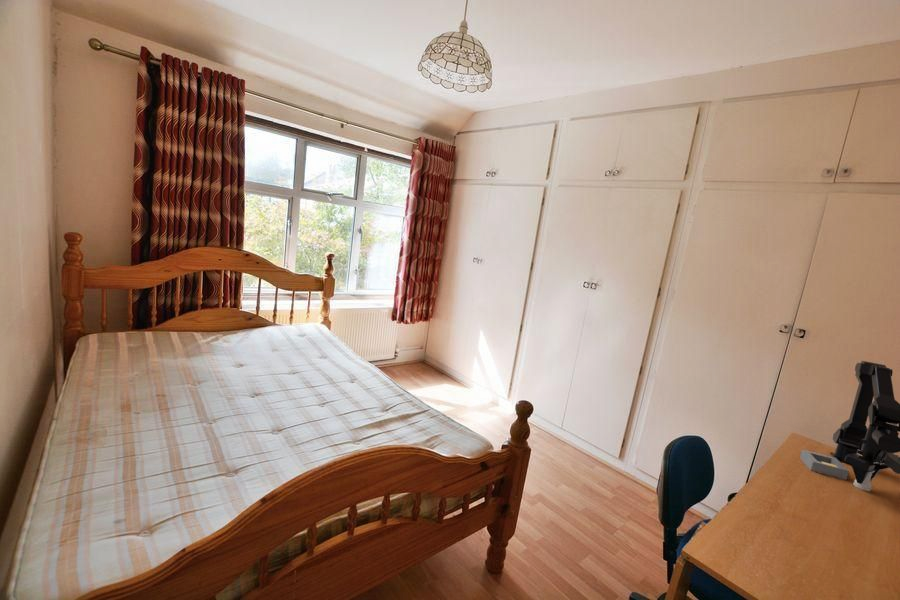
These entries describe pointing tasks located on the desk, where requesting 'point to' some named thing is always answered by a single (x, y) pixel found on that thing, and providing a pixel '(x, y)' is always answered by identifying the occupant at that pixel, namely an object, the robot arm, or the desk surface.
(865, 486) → the rook chess piece
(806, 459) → the grey square tray
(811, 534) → the desk surface
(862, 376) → the robot arm
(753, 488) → the desk surface
